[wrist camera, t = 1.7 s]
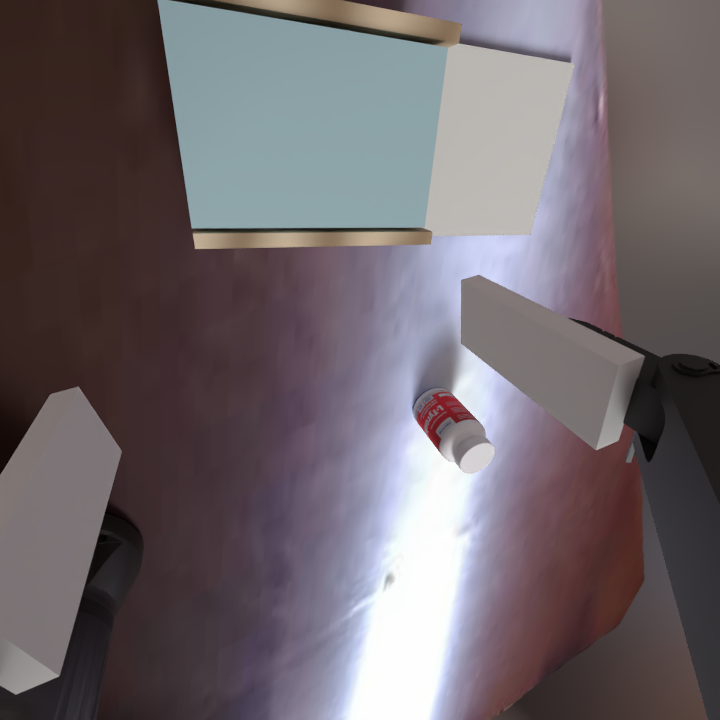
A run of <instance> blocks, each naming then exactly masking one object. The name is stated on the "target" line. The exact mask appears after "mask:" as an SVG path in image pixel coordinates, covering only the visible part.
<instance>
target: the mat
mask: <svg viewBox="0 0 720 720" xmlns="http://www.w3.org/2000/svg"><path fill="white" fill-rule="evenodd" d="M574 65H575V64H573V63H567V62H562V61H556V60H550V59H545V58H539V57H533V56H527V55H522V54H516V53H510V52H505V51H499V50H493V49H488V48H482V47H476V46H470V45H465V44H456V45H454V46H451V47H449V48H448V52H447V60H446V67H445V75H444V83H443V90H442V98H441V106H440V113H439V121H438V129H437V136H436V144H435V152H434V159H433V167H432V175H431V182H430V190H429V198H428V205H427V213H426V221H425V228H424V229H427V230H429V231H432V236H470V235H531V231H532V227H533V223H534V219H535V215H536V212H537V208H538V204H539V200H540V196H541V192H542V188H543V185H544V181H545V177H546V173H547V169H548V165H549V162H550V158H551V154H552V150H553V146H554V142H555V138H556V135H557V131H558V127H559V123H560V119H561V115H562V111H563V108H564V104H565V100H566V96H567V92H568V88H569V85H570V81H571V77H572V73H573V69H574Z"/></svg>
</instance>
